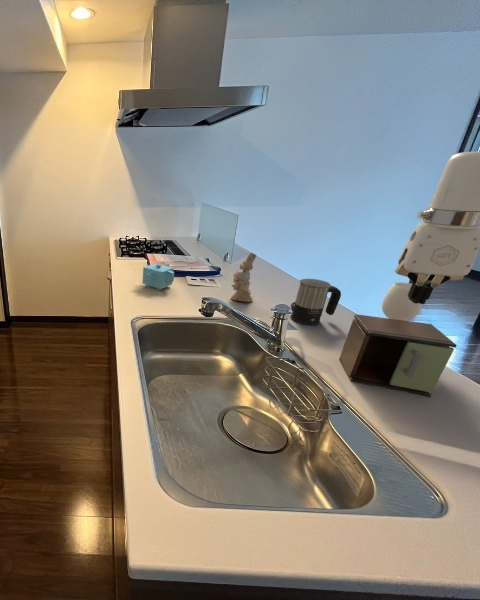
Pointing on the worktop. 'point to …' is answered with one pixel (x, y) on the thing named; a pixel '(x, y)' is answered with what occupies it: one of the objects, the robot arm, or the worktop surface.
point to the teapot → (158, 276)
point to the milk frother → (314, 301)
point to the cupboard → (384, 348)
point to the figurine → (243, 280)
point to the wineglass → (400, 303)
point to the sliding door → (421, 366)
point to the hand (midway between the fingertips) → (416, 301)
